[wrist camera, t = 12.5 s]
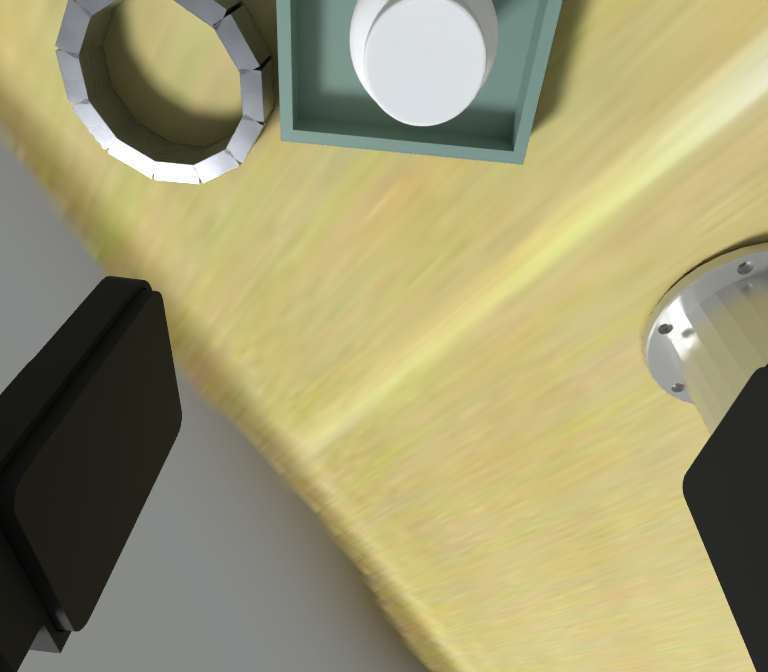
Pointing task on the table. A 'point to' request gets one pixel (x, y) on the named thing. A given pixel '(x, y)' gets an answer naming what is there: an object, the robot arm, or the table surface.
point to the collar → (118, 127)
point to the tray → (377, 128)
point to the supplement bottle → (423, 55)
